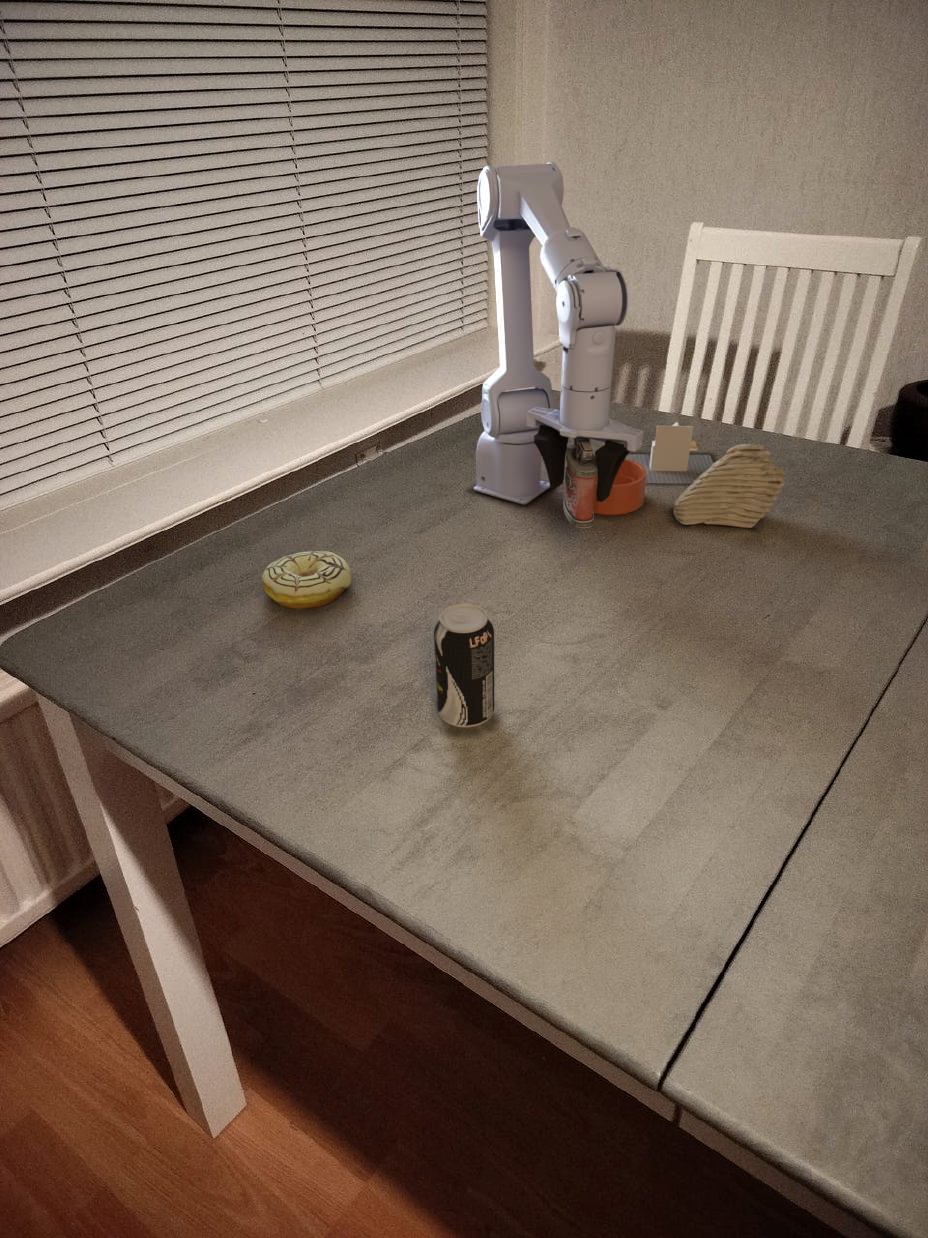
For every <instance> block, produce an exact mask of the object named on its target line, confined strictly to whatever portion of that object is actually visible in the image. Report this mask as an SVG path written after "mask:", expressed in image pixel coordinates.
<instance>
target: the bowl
mask: <svg viewBox="0 0 928 1238" xmlns="http://www.w3.org/2000/svg"><path fill="white" fill-rule="evenodd" d="M646 473H647V470H646V469H645V468H644V467H643V466H642V465H641V464H639V463H637V462H635V461H633V460H629V459H625V460H624V461H623V463H622V465H621V467H620V469H619V471H618V473H617V475H616V477H615V480H614V482H613V485H612V488H611V492H610V495H609V497H608V498H607V499H605V500H604V501H603V502H599V501H597V498H596V491H597V480H598V472H597V475H596V476H595V487H594V500H593V512H594V515H600V516H611V517H612V516H621V515H626V514H629V513H631V512H634V511H637V510H638V509H640V508H641V507H642V506H643V505H644V499H645V490H646V484H647V483H646Z"/></svg>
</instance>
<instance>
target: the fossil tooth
mask: <svg viewBox="0 0 928 1238" xmlns="http://www.w3.org/2000/svg"><path fill="white" fill-rule="evenodd" d="M771 458H772V453H771V452H770V451H768V450H765V447H764V445H761V444H753V443H747V444H746V443H740V444H737V445H734V446H731V447H730V448H728V450H726V454H724V455H723V456H722V457H721V458H720V459H718V460H716V461H715V462H713V464H712V465H711V467H710V468H709V469H708V470H706V471H704V473H703V474H701V475H700V476H699V477H698V478H697V479H696V480H694V483H692V484H689V486H687V488H686V489H685V490H684V491H683V492H682V493H681V494H680V495H679V496H678V497H677V498H676V499H675V500H674V502H673V507H672V509H673V510H672V511H673V516H674V519H675V520H676V521H677V522H679V523H680V524H681V525H684V526H687V525H697V524H705V525H716V526H717V525H718V526H728V527H729V526H730V527H735V528H736V527H737V528H745V529H753V527H754V526H756V525H758V522H759V521H760V520H761V519H763V518H765V515H766V514H767V513H768V512H769V511H770V510H771V509H772V507H773V506H775V505H774V504H775V502H776V500H777V499H778V498H779V496H780V493H781V492H782V491H783V490H782V488H783V487H784V486H785V485H786V480H785V477H786V475H787V473H786V472H784V471H783V470H782V469H781V468H780V467H778V466H776V465H774V463H773V462H772V459H771Z"/></svg>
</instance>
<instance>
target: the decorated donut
mask: <svg viewBox="0 0 928 1238" xmlns="http://www.w3.org/2000/svg"><path fill="white" fill-rule="evenodd" d="M261 580H262V588H263V591H264V592H265V594H267V596H268V597H269V598H270V599H271V600H273V602H275V603H277V604H278V605H279V606H281V607H285V608H288V609H293V610H297V611H301V610H304V609H305V610H308V609H313V608H320V607H323V606H325V605H328V604H330V603H332V602H333V601H334V600H335V599H337V598H338V597H339V596H340V595H341V594H342V593H343V592H344V591H345V590H346V589H348V588H349V587H350V586H351V583H352V573H351V568H350V566H349V564H348V563H347V561H346V560H344V558H342V557H341V556H340V555H337V554H336V553H334V552H331V551H325V550H318V551H317V550H313V551H311V550H310V551H298V552H295V553H292V554H287V555H284V556H282V557H280V558H278V559H276V560H275V561H273V562H271V563H269V564H268V565H267V566H266V567H265V569H264V571H263V572H262V576H261Z"/></svg>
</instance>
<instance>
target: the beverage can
mask: <svg viewBox="0 0 928 1238" xmlns="http://www.w3.org/2000/svg"><path fill="white" fill-rule="evenodd" d="M433 642H434V646H433V647H434V664H435V681H436V682H435V683H436V700H437V701H436V702H437V712H438V716H439V717H440V718H441V719H442V720H443V721H444V722H445V723H447V724H449V725H451V726H453V727H458V728H473V727H478V726H480V725H483V724H484V723H486V722H487V721H489V720H490V719H491V717H492V716H493V714H494V712H495V628H494V625H493V623H492V622H491V620H489V617H488V613H487V611H486V610H485V609H484V608H482V607H480V606H479V605H475V604H472V603H457V604H453V605H450V606H448V607H446V608H444V609H443V610H441V613H440V614H439V620H438V621H437V622H436V624H435V626H434V630H433Z"/></svg>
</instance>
